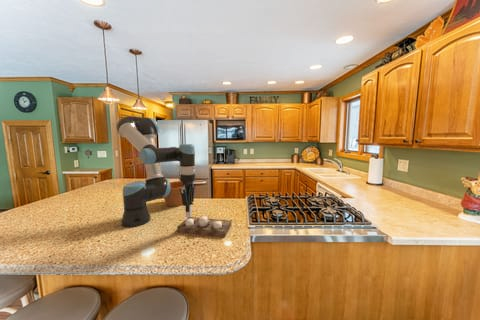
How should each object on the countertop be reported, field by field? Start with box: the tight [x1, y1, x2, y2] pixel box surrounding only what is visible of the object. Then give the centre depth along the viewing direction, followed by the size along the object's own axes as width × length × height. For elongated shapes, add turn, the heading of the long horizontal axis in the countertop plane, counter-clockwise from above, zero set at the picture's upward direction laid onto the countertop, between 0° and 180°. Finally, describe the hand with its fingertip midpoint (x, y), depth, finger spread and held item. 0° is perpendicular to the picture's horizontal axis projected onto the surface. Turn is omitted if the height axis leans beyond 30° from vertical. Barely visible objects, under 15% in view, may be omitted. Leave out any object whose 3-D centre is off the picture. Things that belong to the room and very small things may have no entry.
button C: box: [213, 221, 222, 230], centre depth 99 cm, size 4×4×4 cm
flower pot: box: [163, 181, 183, 207], centre depth 144 cm, size 21×21×15 cm
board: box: [176, 216, 232, 238], centre depth 103 cm, size 26×13×3 cm, turn 78°
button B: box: [198, 215, 208, 227], centre depth 100 cm, size 4×4×4 cm
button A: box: [184, 218, 194, 227], centre depth 102 cm, size 4×4×4 cm
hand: (188, 216), depth 102 cm, fingers closed
